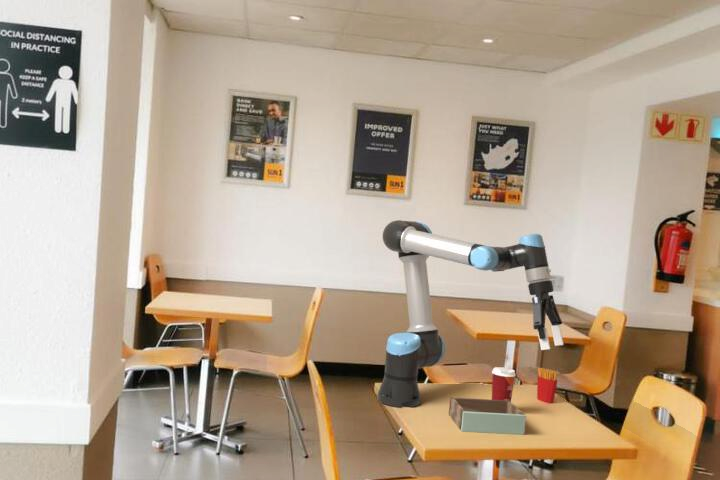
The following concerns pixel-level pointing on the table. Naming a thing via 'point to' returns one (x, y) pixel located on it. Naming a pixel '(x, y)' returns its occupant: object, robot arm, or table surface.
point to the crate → (479, 407)
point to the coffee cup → (502, 383)
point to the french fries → (546, 385)
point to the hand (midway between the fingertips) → (552, 347)
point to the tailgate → (493, 422)
